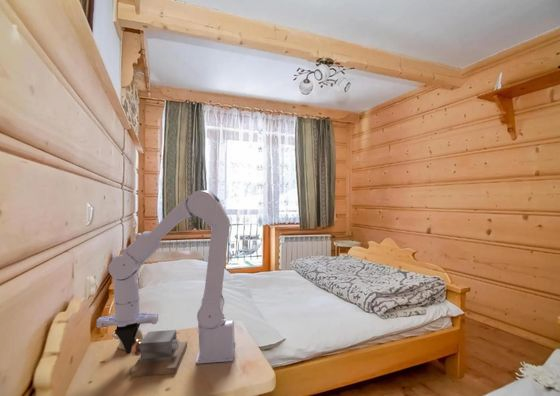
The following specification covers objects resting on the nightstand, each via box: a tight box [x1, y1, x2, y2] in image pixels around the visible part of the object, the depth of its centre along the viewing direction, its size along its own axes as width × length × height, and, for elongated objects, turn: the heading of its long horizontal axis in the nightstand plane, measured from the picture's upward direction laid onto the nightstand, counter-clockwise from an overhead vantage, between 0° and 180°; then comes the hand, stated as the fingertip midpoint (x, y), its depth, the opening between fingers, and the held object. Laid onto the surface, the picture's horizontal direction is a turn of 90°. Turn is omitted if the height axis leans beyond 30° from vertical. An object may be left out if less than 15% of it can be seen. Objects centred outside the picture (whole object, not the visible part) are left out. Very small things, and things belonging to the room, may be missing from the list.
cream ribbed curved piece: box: [111, 327, 144, 350], centre depth 86 cm, size 4×8×5 cm, turn 127°
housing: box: [130, 329, 188, 378], centre depth 78 cm, size 10×12×6 cm
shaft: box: [130, 338, 180, 357], centre depth 78 cm, size 11×4×4 cm, turn 94°
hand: (129, 351), depth 78 cm, fingers closed
